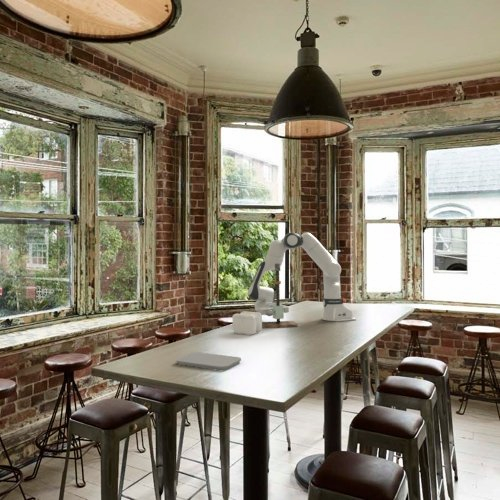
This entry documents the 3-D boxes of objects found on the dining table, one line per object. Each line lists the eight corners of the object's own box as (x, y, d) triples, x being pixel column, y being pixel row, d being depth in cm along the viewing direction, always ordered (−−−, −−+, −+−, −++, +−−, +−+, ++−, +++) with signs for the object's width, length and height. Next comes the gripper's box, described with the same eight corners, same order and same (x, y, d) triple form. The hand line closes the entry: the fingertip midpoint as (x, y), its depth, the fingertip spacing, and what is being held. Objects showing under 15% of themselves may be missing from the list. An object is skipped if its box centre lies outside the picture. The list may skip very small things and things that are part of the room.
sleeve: (279, 317, 286) (279, 304, 286) (283, 318, 281) (283, 305, 281) (272, 317, 284) (272, 305, 284) (276, 319, 279) (276, 306, 279)
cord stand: (292, 323, 291) (292, 262, 290) (298, 326, 278) (297, 263, 277) (259, 324, 288) (258, 263, 287) (262, 328, 275) (261, 264, 274)
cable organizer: (263, 332, 262) (263, 312, 262) (253, 336, 253) (253, 315, 253) (241, 330, 270) (241, 310, 270) (231, 333, 261) (231, 313, 261)
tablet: (224, 372, 185) (224, 367, 185) (173, 365, 197) (173, 360, 197) (243, 362, 200) (243, 357, 200) (194, 356, 212) (194, 351, 212)
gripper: (254, 305, 290) (263, 308, 278) (282, 303, 298) (292, 305, 286) (254, 315, 290) (263, 318, 278) (282, 312, 299) (293, 315, 286)
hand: (278, 312), depth 282 cm, fingers closed on sleeve, 5 cm apart
